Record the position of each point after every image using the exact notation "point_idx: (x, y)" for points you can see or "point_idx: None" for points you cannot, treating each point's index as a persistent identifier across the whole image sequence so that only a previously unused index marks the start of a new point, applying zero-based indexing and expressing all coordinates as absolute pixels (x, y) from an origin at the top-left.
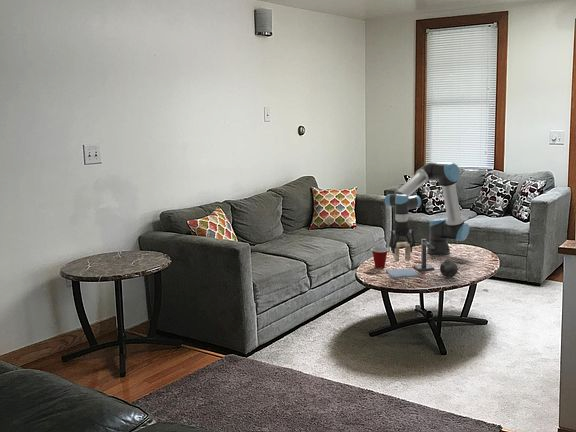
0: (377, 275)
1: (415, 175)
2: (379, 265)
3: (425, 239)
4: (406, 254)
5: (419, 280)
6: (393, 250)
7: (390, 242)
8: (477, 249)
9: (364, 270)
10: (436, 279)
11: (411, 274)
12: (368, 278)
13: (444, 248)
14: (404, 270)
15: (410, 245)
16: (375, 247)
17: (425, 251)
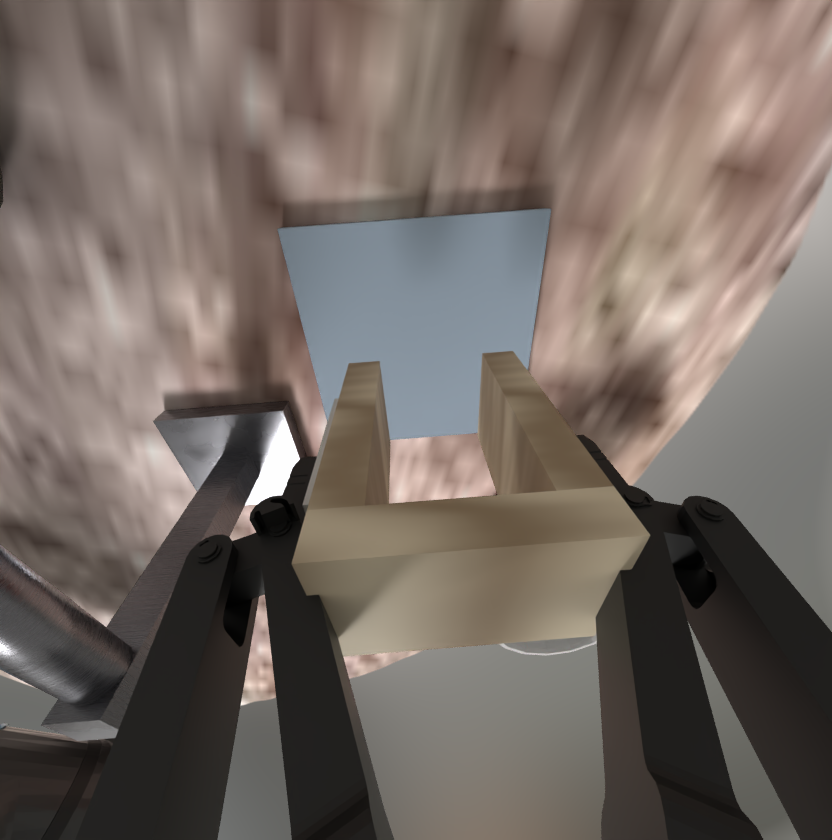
0: (618, 336)
1: None
2: None
3: (56, 727)
4: (381, 438)
5: (283, 42)
6: (601, 466)
7: (797, 605)
8: None
9: (630, 460)
10: (70, 50)
11: (354, 268)
12: (737, 254)
13: None
14: (393, 400)
15: (291, 545)
16: (567, 647)
17: (160, 559)
